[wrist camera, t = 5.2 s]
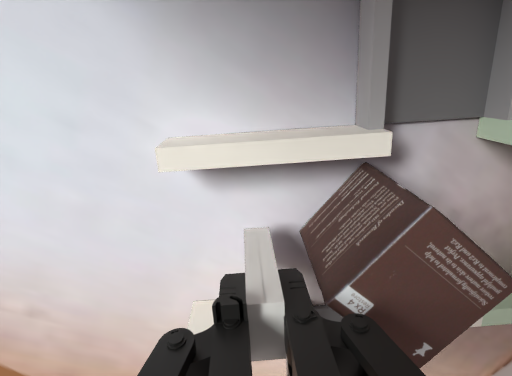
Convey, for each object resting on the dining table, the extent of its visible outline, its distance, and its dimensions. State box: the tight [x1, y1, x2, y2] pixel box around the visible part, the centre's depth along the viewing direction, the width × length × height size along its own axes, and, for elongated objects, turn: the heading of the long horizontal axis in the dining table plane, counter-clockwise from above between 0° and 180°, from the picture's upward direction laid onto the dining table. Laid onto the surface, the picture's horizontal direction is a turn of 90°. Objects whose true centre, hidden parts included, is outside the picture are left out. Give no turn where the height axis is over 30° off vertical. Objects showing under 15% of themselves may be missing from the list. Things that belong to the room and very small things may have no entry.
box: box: [300, 162, 512, 368], centre depth 17 cm, size 6×6×7 cm
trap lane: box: [155, 0, 512, 376], centre depth 19 cm, size 28×24×3 cm
